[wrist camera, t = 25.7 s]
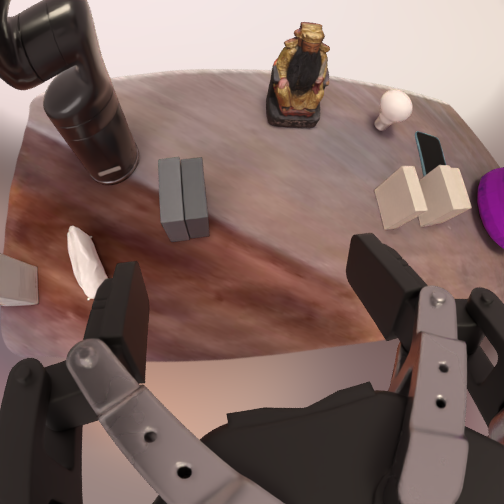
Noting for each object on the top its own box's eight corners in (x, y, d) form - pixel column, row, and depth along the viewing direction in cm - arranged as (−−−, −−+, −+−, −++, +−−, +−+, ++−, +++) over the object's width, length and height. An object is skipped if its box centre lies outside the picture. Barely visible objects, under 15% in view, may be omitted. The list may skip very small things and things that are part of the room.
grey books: (171, 242, 46) (160, 223, 37) (167, 188, 48) (158, 159, 39) (209, 237, 47) (208, 217, 38) (203, 183, 49) (201, 154, 39)
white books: (420, 226, 52) (453, 209, 42) (409, 187, 53) (439, 164, 44) (441, 224, 53) (473, 208, 43) (430, 186, 54) (459, 166, 45)
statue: (262, 126, 52) (284, 43, 33) (263, 94, 54) (282, 14, 35) (327, 135, 54) (370, 62, 34) (324, 103, 55) (360, 31, 36)
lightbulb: (378, 111, 57) (401, 80, 46) (397, 134, 56) (424, 105, 45) (359, 120, 55) (382, 86, 45) (379, 144, 55) (406, 113, 44)
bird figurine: (70, 256, 45) (89, 306, 41) (55, 233, 39) (73, 288, 36) (95, 243, 47) (116, 292, 43) (83, 218, 41) (104, 272, 37)
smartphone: (438, 137, 57) (453, 197, 54) (436, 140, 58) (450, 199, 55) (414, 130, 57) (429, 191, 53) (412, 132, 58) (425, 193, 54)
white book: (384, 230, 51) (415, 211, 41) (374, 190, 52) (401, 165, 42) (395, 228, 51) (428, 210, 41) (385, 189, 53) (414, 165, 43)
